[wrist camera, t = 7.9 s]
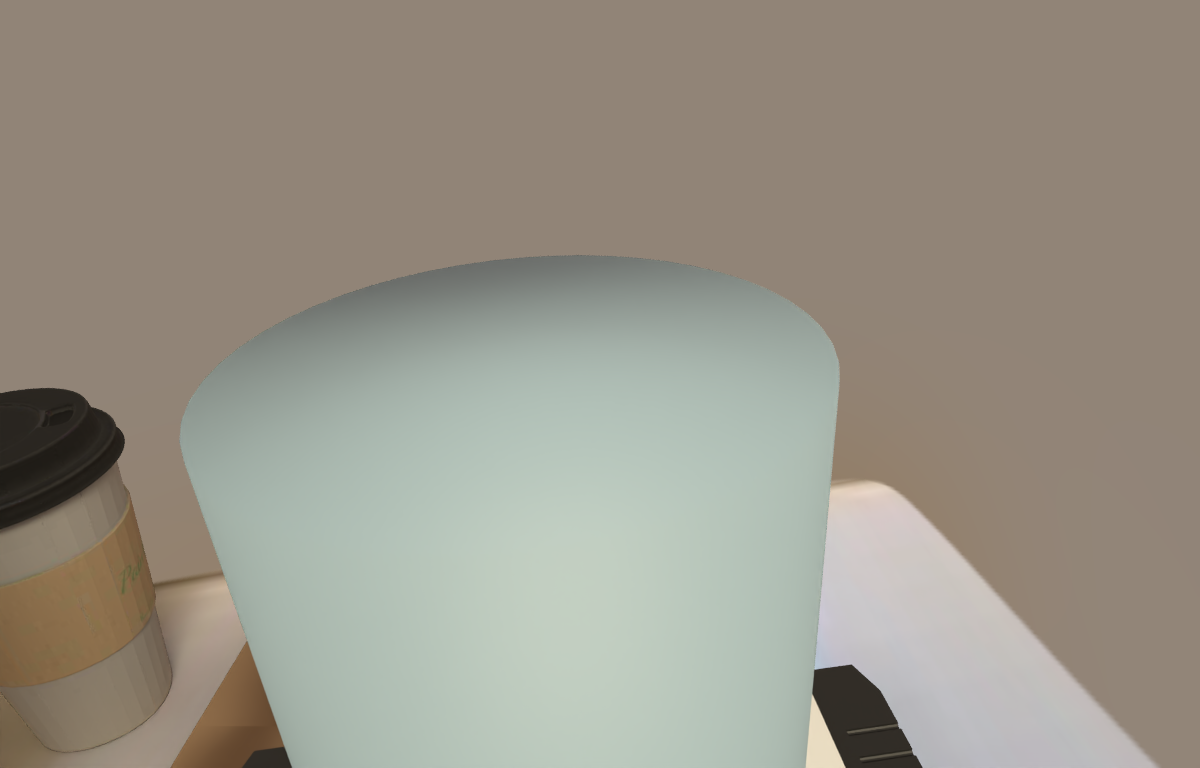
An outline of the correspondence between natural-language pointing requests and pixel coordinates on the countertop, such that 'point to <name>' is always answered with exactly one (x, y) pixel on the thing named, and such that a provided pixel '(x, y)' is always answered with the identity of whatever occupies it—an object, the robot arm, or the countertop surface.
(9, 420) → the coffee cup
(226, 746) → the socket block
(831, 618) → the countertop surface
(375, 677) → the peg
